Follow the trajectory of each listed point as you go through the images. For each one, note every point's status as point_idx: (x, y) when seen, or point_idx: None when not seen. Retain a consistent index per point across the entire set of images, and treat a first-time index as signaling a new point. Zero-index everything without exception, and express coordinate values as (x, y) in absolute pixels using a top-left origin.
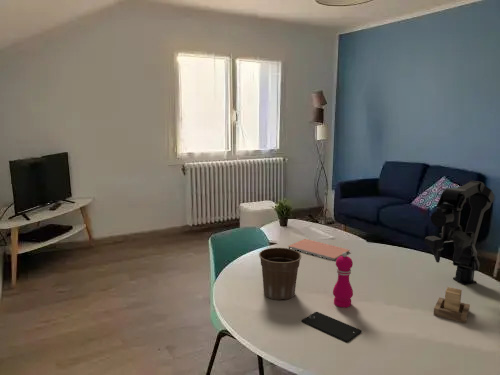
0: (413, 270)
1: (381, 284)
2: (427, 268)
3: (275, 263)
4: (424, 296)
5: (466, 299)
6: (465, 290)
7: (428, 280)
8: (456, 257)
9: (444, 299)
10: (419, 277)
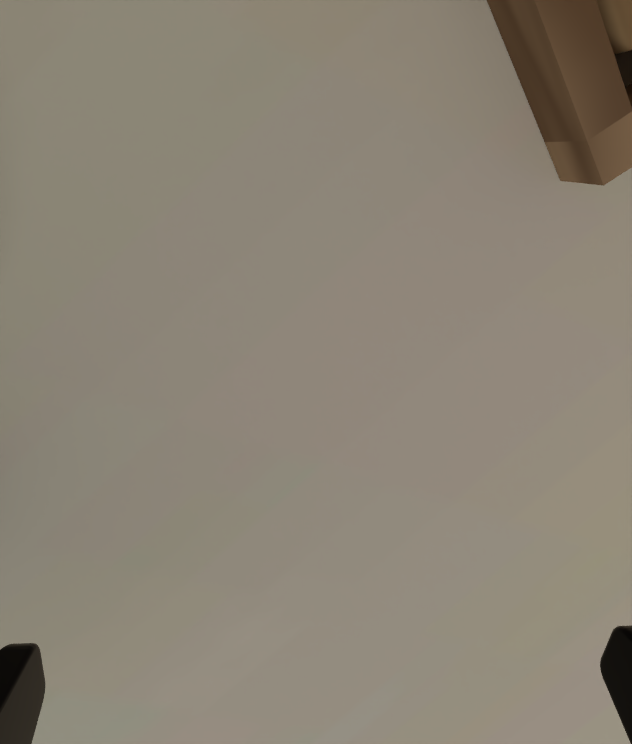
0: (198, 733)
1: (629, 609)
2: (48, 740)
3: None
4: (535, 351)
5: (200, 132)
6: (30, 310)
7: (228, 577)
8: (19, 731)
9: (604, 114)
10: (256, 634)
